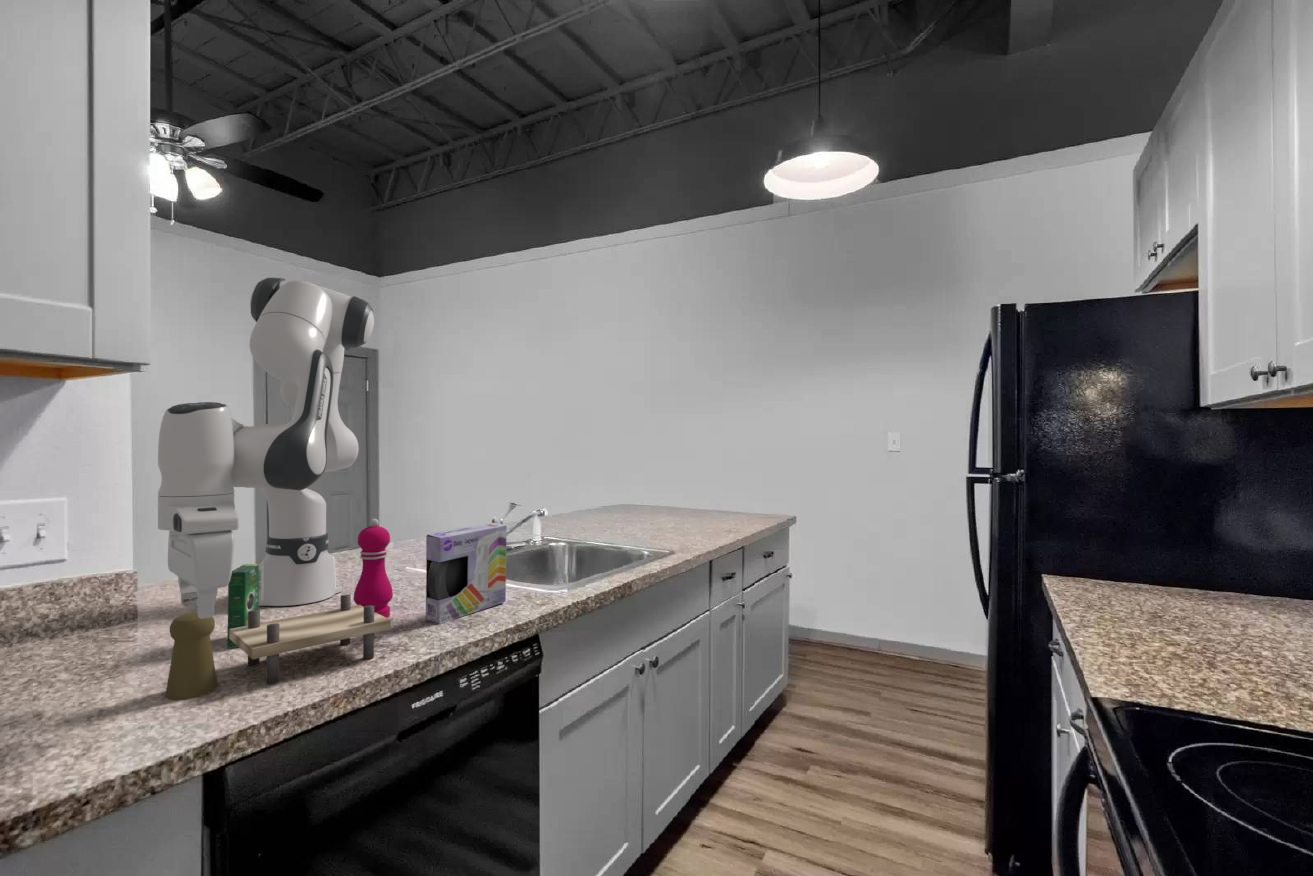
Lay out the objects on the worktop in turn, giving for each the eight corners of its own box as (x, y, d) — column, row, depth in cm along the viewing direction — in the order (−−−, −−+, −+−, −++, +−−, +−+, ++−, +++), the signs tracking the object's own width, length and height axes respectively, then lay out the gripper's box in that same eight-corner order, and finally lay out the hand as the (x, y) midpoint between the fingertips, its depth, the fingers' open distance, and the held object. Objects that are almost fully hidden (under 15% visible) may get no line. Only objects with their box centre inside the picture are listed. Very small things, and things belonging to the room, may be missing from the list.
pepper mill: (377, 623, 121) (378, 521, 121) (345, 621, 123) (346, 520, 122) (400, 613, 128) (400, 517, 128) (369, 611, 130) (370, 515, 130)
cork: (188, 682, 92) (188, 608, 92) (227, 683, 92) (228, 609, 92) (153, 699, 86) (154, 620, 86) (196, 700, 86) (196, 621, 86)
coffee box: (241, 634, 114) (242, 563, 114) (259, 632, 115) (260, 562, 115) (225, 648, 106) (226, 572, 106) (244, 647, 107) (245, 571, 107)
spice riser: (229, 666, 98) (229, 613, 98) (359, 637, 113) (359, 591, 113) (252, 690, 89) (252, 631, 89) (390, 655, 104) (390, 605, 104)
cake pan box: (435, 626, 120) (436, 535, 120) (419, 622, 123) (420, 533, 123) (508, 604, 136) (509, 523, 136) (491, 600, 139) (492, 522, 139)
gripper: (155, 511, 94) (155, 602, 93) (185, 522, 80) (185, 630, 80) (205, 507, 98) (205, 595, 98) (242, 518, 84) (242, 619, 84)
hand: (196, 611), depth 89 cm, fingers open, 8 cm apart
